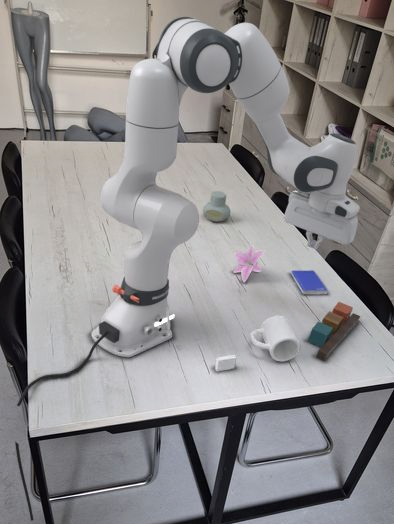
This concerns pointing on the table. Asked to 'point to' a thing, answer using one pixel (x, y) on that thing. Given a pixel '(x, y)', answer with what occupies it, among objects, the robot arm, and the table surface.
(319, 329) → the teal block
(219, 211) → the air freshener
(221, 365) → the eraser
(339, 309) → the terracotta block
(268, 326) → the mug
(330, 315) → the oak block
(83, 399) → the table surface
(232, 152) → the table surface
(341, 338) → the straightedge
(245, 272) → the lily
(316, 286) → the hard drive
